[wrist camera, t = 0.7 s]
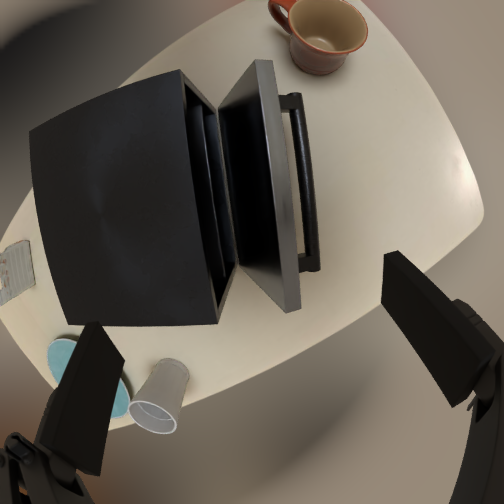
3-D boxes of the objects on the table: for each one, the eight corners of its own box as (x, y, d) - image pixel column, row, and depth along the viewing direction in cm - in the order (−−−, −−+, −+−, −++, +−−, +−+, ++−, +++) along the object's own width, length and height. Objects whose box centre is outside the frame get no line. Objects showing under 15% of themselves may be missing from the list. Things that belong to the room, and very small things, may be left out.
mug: (357, 55, 30) (381, 25, 20) (324, 94, 32) (342, 68, 22) (288, 11, 28) (292, -28, 19) (252, 47, 31) (246, 11, 21)
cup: (180, 393, 47) (162, 439, 36) (145, 370, 46) (120, 413, 35) (202, 373, 45) (186, 422, 34) (164, 347, 44) (139, 393, 33)
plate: (58, 312, 45) (50, 318, 42) (148, 377, 47) (143, 386, 44) (49, 371, 50) (43, 377, 48) (121, 423, 53) (117, 430, 50)
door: (251, 105, 34) (306, 62, 20) (271, 259, 40) (331, 299, 26) (217, 107, 33) (254, 59, 19) (239, 267, 39) (285, 313, 24)
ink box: (29, 283, 43) (-7, 304, 32) (22, 239, 41) (-18, 255, 30) (37, 285, 43) (0, 308, 32) (30, 240, 41) (-11, 257, 30)
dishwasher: (215, 109, 34) (179, 68, 18) (237, 266, 39) (217, 324, 24) (102, 138, 35) (29, 131, 20) (126, 276, 41) (68, 324, 26)
